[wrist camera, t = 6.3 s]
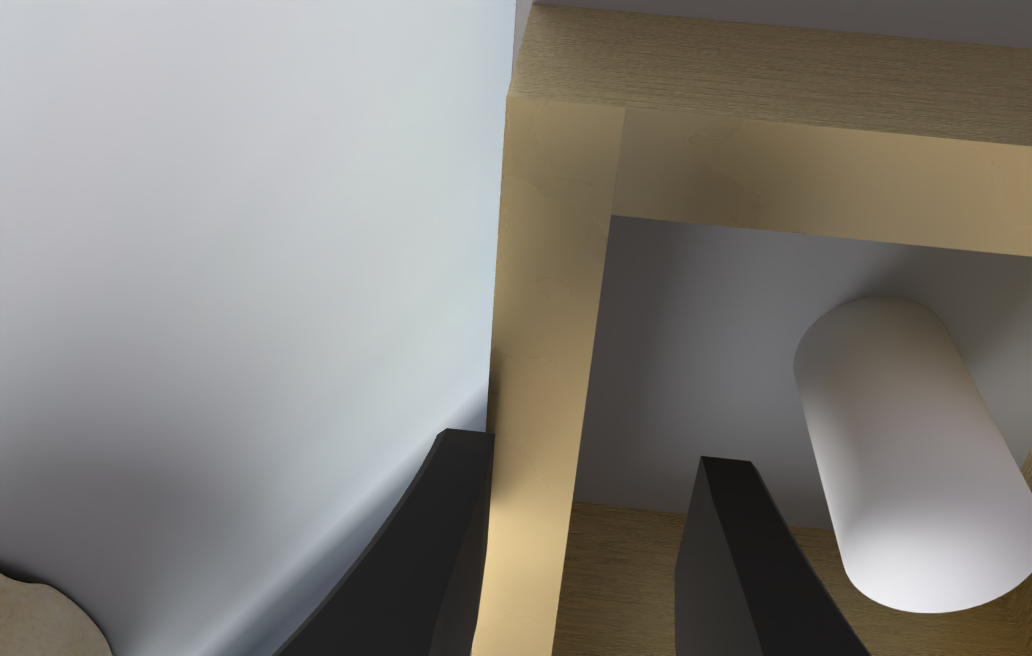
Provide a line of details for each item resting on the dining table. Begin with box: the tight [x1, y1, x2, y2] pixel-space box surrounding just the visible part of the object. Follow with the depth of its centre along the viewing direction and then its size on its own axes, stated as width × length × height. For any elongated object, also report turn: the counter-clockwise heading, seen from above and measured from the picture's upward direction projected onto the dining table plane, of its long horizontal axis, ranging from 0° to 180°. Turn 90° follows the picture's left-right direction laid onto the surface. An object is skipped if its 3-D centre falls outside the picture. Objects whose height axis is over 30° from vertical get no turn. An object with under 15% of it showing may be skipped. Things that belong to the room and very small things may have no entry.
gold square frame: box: [472, 3, 1032, 656], centre depth 14 cm, size 10×10×4 cm
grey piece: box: [511, 0, 1032, 613], centre depth 14 cm, size 14×12×6 cm
